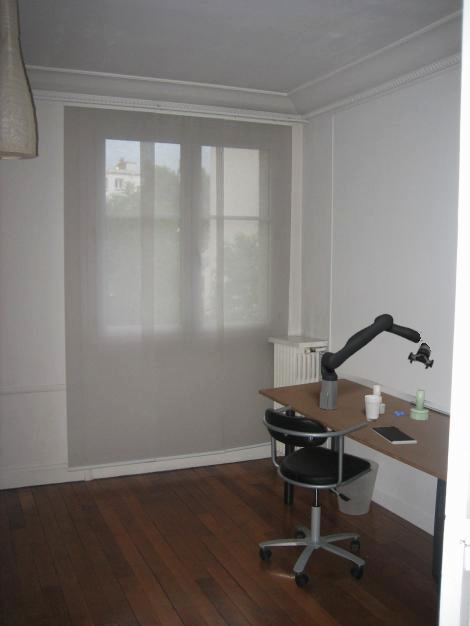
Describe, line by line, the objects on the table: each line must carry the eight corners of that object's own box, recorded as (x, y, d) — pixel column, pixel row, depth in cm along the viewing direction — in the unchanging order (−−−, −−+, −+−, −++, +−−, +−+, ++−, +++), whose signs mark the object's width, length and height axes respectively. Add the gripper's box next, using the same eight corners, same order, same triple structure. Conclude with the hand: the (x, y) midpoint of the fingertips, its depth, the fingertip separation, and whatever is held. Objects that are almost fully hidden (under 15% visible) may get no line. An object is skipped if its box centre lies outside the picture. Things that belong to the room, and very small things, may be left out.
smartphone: (393, 429, 348) (393, 425, 348) (417, 444, 322) (417, 440, 322) (370, 429, 345) (370, 426, 345) (392, 445, 319) (392, 442, 319)
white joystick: (376, 417, 368) (378, 387, 366) (363, 413, 376) (364, 384, 374) (388, 414, 374) (389, 385, 372) (374, 410, 382) (376, 382, 380)
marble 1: (396, 417, 370) (396, 411, 369) (392, 415, 372) (392, 410, 372) (399, 416, 372) (400, 411, 371) (395, 415, 374) (395, 409, 374)
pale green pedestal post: (420, 423, 357) (422, 393, 355) (406, 419, 365) (407, 389, 363) (432, 421, 363) (433, 391, 361) (417, 416, 371) (419, 387, 369)
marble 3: (402, 417, 368) (402, 412, 368) (398, 416, 371) (398, 411, 370) (405, 417, 370) (406, 411, 370) (401, 415, 373) (401, 410, 372)
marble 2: (398, 418, 366) (398, 413, 366) (394, 417, 369) (394, 412, 368) (402, 417, 368) (402, 412, 368) (397, 416, 370) (398, 411, 370)
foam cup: (368, 416, 369) (369, 394, 368) (383, 419, 363) (384, 396, 362) (360, 419, 362) (361, 396, 360) (375, 423, 356) (377, 399, 354)
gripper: (413, 344, 385) (408, 355, 371) (437, 352, 380) (433, 363, 367) (410, 354, 388) (404, 366, 374) (433, 363, 384) (429, 375, 370)
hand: (418, 365), depth 371 cm, fingers open, 8 cm apart
